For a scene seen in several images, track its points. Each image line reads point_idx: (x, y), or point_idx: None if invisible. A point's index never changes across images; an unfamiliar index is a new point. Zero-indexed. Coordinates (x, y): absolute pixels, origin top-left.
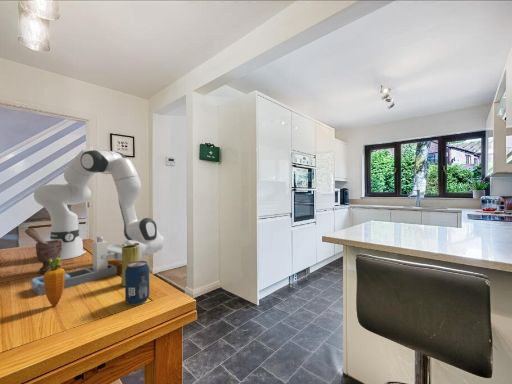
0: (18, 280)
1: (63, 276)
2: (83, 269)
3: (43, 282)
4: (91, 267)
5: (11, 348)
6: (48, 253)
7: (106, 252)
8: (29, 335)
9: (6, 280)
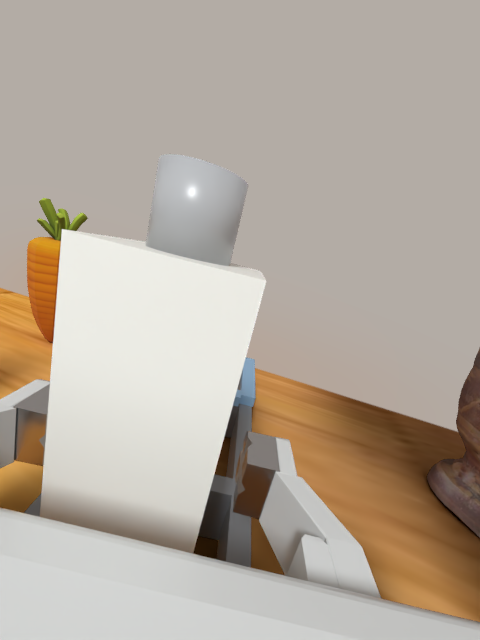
0: (378, 419)
1: (29, 260)
2: (233, 475)
3: (239, 384)
4: (229, 528)
5: (7, 292)
6: (468, 390)
7: (59, 422)
8: (5, 301)
9: (399, 415)
